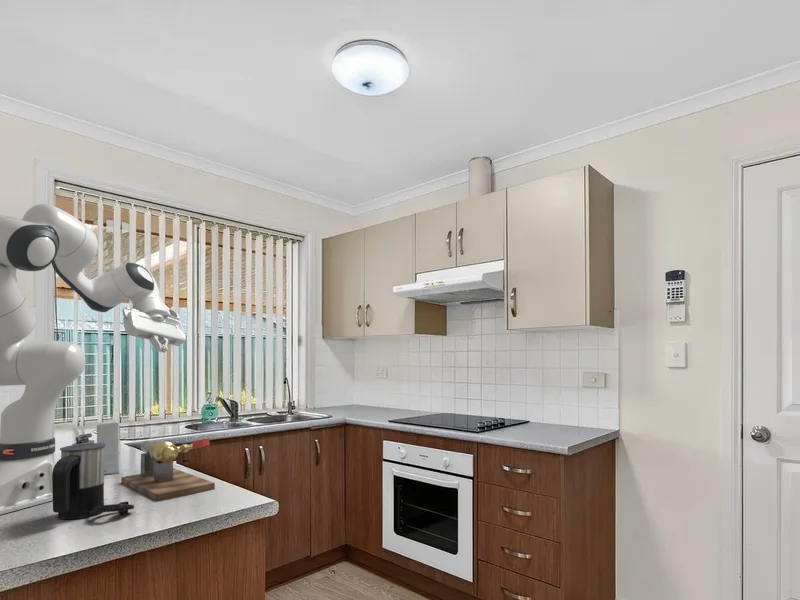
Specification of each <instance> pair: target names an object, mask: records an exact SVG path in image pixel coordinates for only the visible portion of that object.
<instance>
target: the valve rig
mask: <svg viewBox="0 0 800 600" xmlns="http://www.w3.org/2000/svg"><path fill="white" fill-rule="evenodd" d="M140 449H141V451H142V452H143V453H140V473H138V474H137V473H136V474H132V475H126V476H122V477H120V481H121V484H123V485H124V486H127V487H129V488H131V489H133V490H134V491H136V492H139V493H141V494H143V495H145V496H147V497H149V498H150V499H152V500H155V501H157V502H160V501H167V500H171V499H175V498H179V497H184V496H188V495H193V494H197V493H202V492H208V491H211V490H215V488H216V486H215V485H216V484H215V482H213V481H210V480H207V479H205V478H203V477H200V476H197V475H193V474H191V473H187V472H185V471H183V470H180V469H178V468H175V467H174V460H176V458H177V457H178V455H179V454H178V453H182V446H181V445H179V446H177V445H176V444H174V443H172V442H169V441H166V440H157V441H155V442H154V441H150V440H145V441H143V442H141V444H140Z"/></svg>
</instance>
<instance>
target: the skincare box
mask: <svg viewBox="0 0 800 600" xmlns="http://www.w3.org/2000/svg"><path fill="white" fill-rule="evenodd" d="M96 443H105V444H106V446H105V456H104V475H114V474H119V473H120V469H121V455H120V454H121V451H120V450H121V448H120V447H121V446H120V443H121V441H120V420H110V421H102V422H98V423H97V425H96Z"/></svg>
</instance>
